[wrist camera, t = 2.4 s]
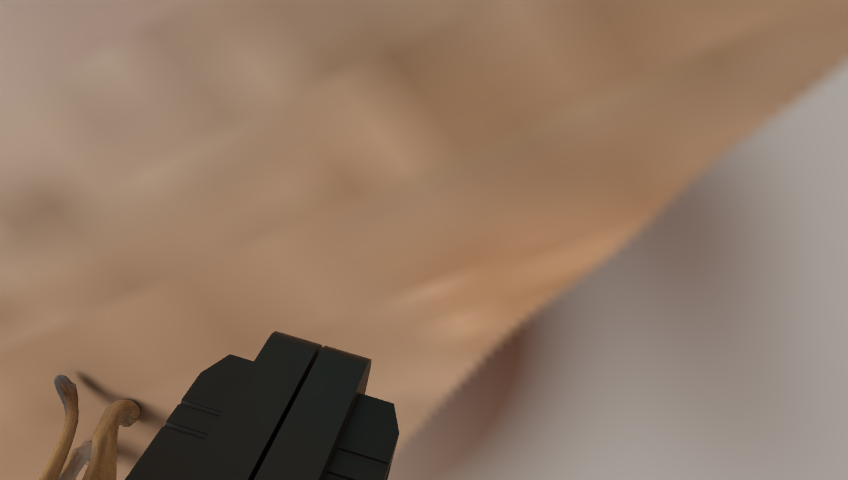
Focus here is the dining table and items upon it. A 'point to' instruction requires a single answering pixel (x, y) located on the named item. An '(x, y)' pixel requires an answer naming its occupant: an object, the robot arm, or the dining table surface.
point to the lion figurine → (93, 453)
